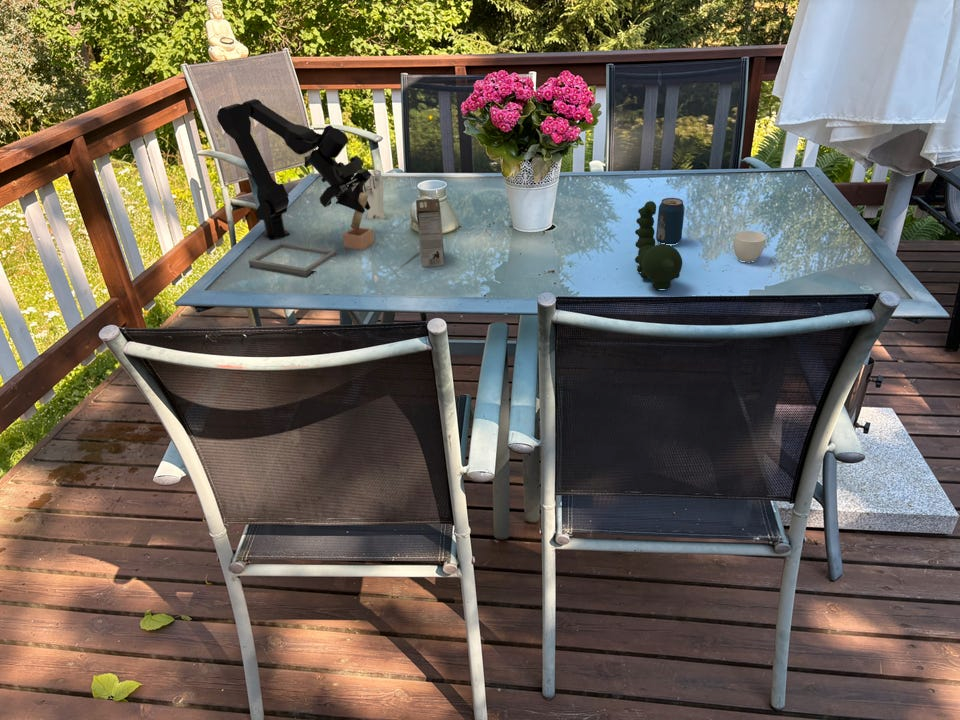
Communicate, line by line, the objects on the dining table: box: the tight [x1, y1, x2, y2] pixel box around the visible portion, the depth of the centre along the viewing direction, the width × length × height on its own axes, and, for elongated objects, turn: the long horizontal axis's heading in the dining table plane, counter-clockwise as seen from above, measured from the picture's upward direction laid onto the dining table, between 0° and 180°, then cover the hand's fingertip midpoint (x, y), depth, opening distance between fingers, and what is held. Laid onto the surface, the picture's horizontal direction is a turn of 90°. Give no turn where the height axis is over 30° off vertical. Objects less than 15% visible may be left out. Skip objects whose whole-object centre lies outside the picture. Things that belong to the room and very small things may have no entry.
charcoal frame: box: [247, 241, 338, 278], centre depth 198 cm, size 20×14×2 cm
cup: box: [733, 230, 767, 262], centre depth 185 cm, size 8×10×7 cm
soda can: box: [655, 197, 686, 244], centre depth 195 cm, size 7×7×12 cm
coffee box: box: [415, 198, 445, 268], centre depth 191 cm, size 9×6×16 cm
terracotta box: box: [342, 226, 375, 251], centre depth 204 cm, size 6×6×5 cm
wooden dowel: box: [350, 193, 368, 229], centre depth 199 cm, size 6×2×11 cm, turn 64°
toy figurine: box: [634, 200, 683, 290], centre depth 174 cm, size 9×19×25 cm
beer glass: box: [363, 169, 387, 221], centre depth 222 cm, size 7×7×15 cm
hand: (366, 210), depth 198 cm, fingers closed on wooden dowel, 2 cm apart
